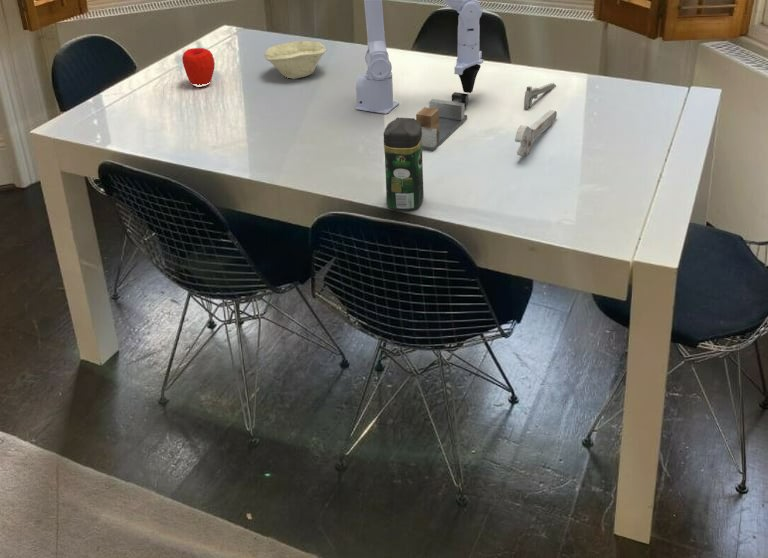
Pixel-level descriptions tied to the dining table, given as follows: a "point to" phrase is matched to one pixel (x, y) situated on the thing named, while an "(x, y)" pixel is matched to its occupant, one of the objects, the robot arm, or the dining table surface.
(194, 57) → the apple
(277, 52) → the bowl
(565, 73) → the dining table surface
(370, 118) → the dining table surface
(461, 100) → the slide jaw
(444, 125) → the vise
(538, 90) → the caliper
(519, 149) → the wrench
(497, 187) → the dining table surface
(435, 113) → the block
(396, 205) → the coffee jar
